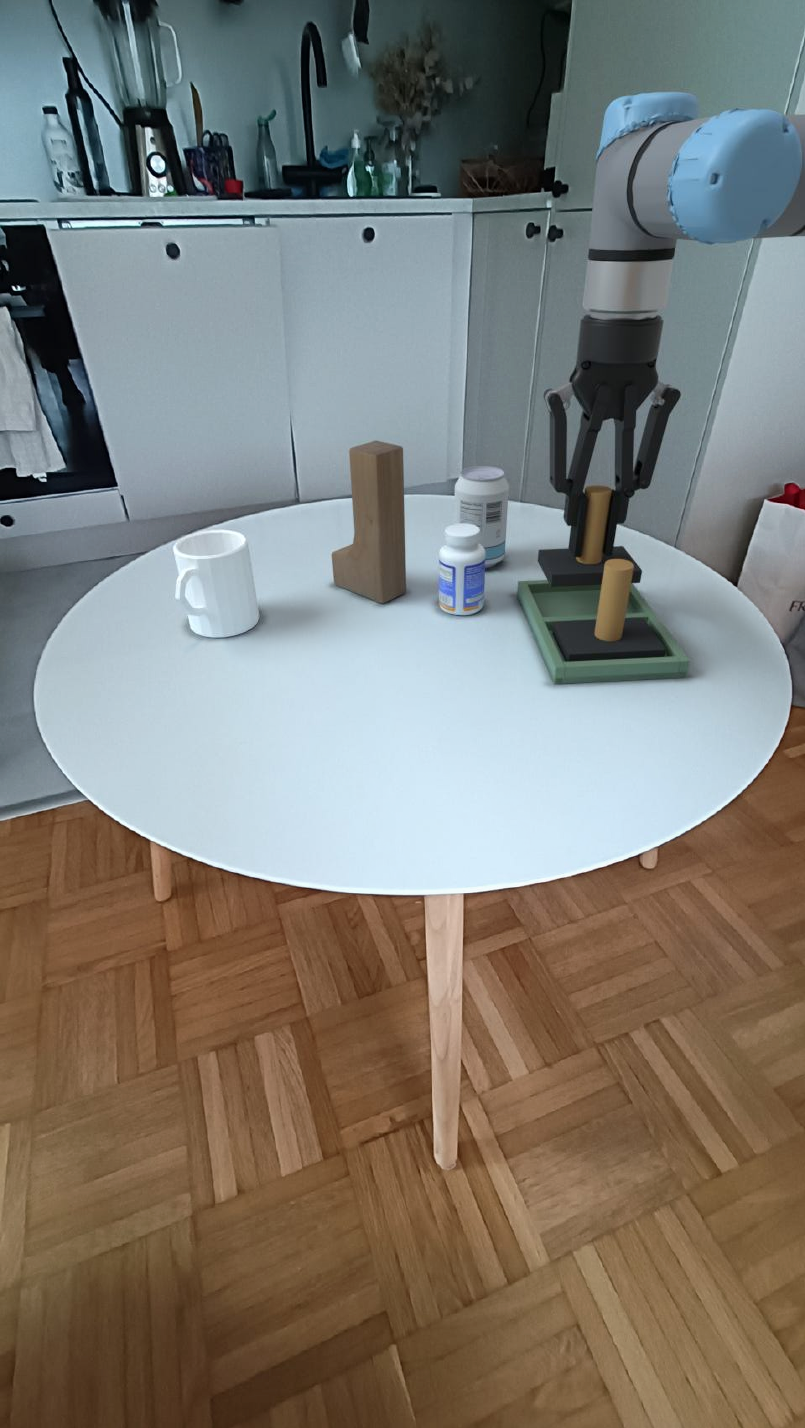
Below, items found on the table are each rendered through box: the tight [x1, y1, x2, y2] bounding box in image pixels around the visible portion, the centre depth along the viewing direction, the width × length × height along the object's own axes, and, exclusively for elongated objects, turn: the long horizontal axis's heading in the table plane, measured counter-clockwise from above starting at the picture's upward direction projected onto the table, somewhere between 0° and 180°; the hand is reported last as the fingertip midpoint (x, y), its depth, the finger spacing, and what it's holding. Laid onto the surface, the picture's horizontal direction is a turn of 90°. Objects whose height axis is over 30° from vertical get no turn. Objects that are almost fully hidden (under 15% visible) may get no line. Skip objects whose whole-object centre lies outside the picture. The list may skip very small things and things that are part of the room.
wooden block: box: [331, 440, 407, 604], centre depth 86 cm, size 9×4×18 cm, turn 47°
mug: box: [172, 529, 260, 639], centre depth 81 cm, size 8×12×10 cm
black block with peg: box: [537, 484, 643, 587], centre depth 79 cm, size 7×10×10 cm
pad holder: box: [516, 579, 691, 685], centre depth 80 cm, size 20×14×2 cm
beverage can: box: [453, 465, 510, 569], centre depth 94 cm, size 7×7×12 cm
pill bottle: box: [438, 523, 486, 616], centre depth 84 cm, size 5×5×10 cm
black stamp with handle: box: [552, 559, 666, 662], centre depth 74 cm, size 7×10×10 cm
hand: (590, 551), depth 80 cm, fingers closed on black block with peg, 3 cm apart
